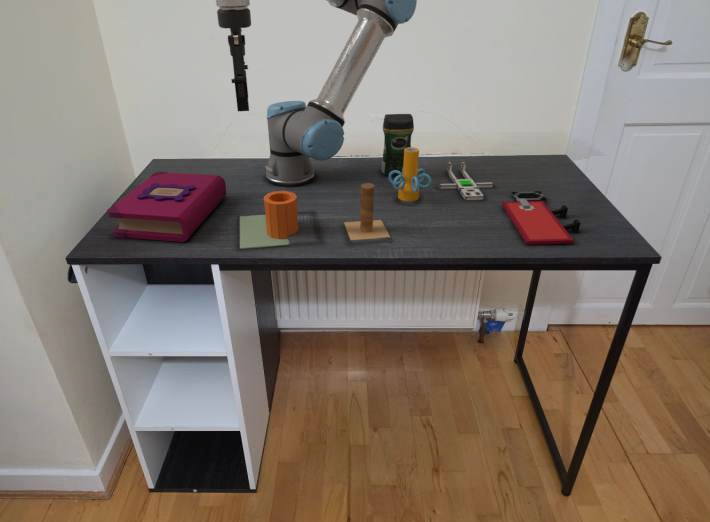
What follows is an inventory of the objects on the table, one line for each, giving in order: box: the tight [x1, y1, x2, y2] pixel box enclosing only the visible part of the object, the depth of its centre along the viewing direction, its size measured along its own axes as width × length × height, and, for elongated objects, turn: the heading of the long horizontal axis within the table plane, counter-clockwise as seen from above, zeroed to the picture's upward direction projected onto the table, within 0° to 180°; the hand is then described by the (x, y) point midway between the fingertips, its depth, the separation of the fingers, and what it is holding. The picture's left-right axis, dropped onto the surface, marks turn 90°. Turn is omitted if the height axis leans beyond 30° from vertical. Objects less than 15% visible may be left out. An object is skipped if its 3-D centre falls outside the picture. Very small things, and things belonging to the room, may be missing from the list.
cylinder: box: [387, 146, 432, 202], centre depth 146 cm, size 12×10×15 cm
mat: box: [239, 214, 290, 250], centre depth 135 cm, size 18×20×1 cm
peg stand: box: [343, 182, 391, 241], centre depth 129 cm, size 10×10×13 cm
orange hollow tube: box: [263, 190, 299, 239], centre depth 131 cm, size 8×8×10 cm
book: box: [106, 171, 227, 243], centre depth 140 cm, size 21×28×8 cm
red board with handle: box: [501, 190, 581, 246], centre depth 139 cm, size 30×3×15 cm
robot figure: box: [438, 161, 495, 201], centre depth 158 cm, size 16×3×22 cm
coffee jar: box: [380, 113, 415, 177], centre depth 163 cm, size 10×8×19 cm
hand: (243, 103), depth 130 cm, fingers open, 13 cm apart
